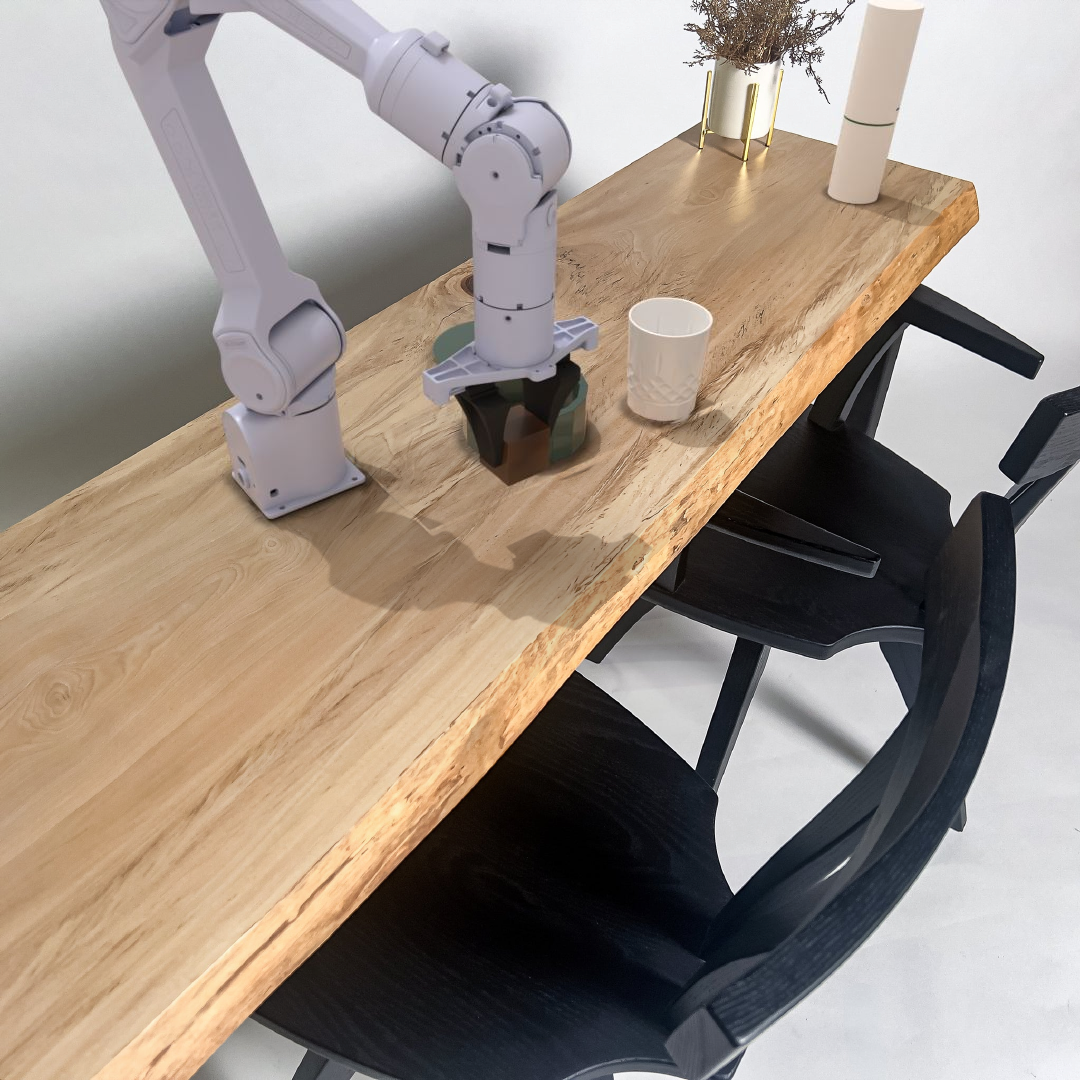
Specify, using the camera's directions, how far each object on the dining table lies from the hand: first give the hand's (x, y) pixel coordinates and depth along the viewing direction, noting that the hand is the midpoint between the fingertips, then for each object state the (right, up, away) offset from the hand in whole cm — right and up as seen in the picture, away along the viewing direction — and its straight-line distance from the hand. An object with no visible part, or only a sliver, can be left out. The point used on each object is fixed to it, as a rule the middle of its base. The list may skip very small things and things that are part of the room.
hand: (513, 451), depth 76 cm
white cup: (+14, +6, +21) cm, 26 cm away
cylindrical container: (+48, +44, +66) cm, 92 cm away
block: (0, -1, +1) cm, 1 cm away
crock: (+1, +3, +17) cm, 17 cm away
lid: (-3, +13, +28) cm, 31 cm away
